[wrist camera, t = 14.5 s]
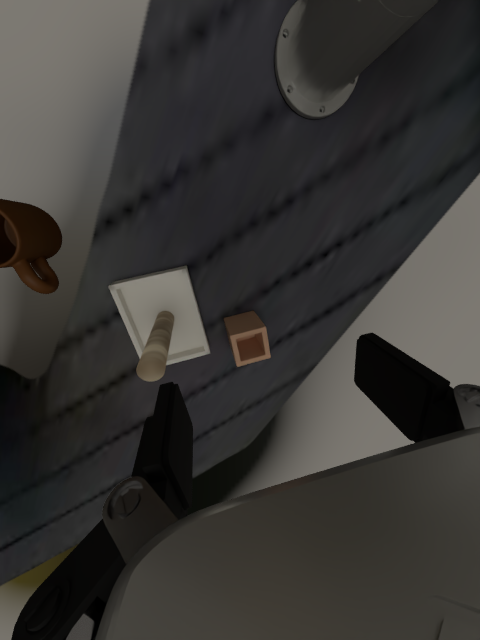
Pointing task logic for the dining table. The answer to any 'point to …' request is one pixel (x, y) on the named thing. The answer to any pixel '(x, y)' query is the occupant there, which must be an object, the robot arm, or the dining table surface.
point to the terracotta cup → (247, 338)
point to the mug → (29, 244)
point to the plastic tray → (162, 295)
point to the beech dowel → (156, 348)
